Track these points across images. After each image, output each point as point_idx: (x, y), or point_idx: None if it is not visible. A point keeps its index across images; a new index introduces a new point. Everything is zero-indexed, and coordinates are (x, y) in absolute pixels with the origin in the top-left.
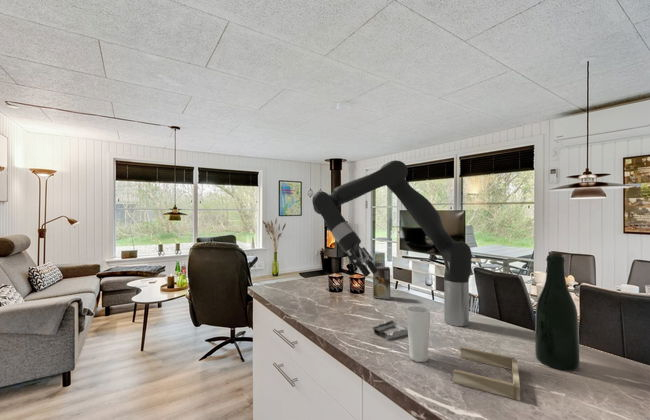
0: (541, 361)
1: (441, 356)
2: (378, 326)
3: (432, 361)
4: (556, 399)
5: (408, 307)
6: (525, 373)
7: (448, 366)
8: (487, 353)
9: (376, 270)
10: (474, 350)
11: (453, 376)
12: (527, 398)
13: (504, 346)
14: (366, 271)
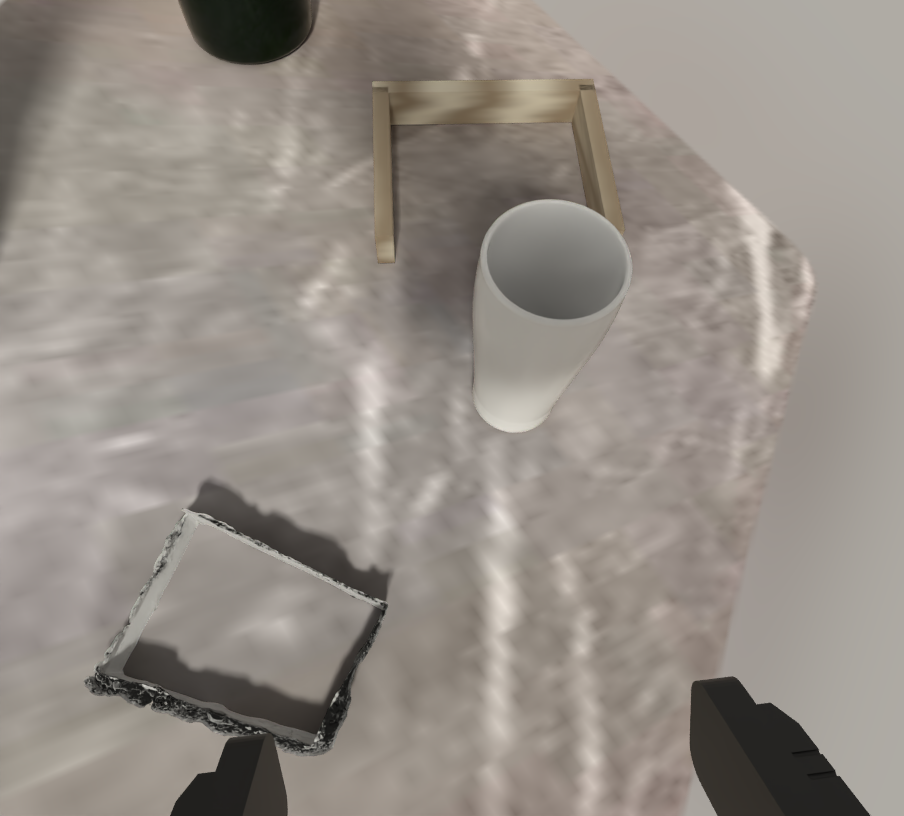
0: (288, 51)
1: (425, 324)
2: (262, 727)
3: None
4: (514, 49)
5: (560, 319)
6: None
7: None
8: (389, 153)
9: (271, 752)
10: (386, 191)
11: None
12: None
13: (177, 144)
14: (799, 726)
